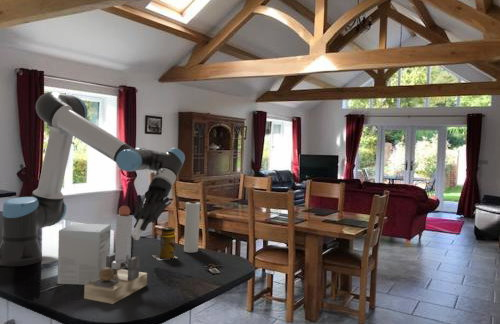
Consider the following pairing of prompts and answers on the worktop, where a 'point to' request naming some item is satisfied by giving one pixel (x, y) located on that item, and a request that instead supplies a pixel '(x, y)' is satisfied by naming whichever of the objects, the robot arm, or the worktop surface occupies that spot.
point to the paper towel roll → (191, 227)
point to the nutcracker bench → (116, 282)
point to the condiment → (167, 244)
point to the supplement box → (82, 252)
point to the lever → (123, 238)
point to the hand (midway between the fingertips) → (134, 237)
